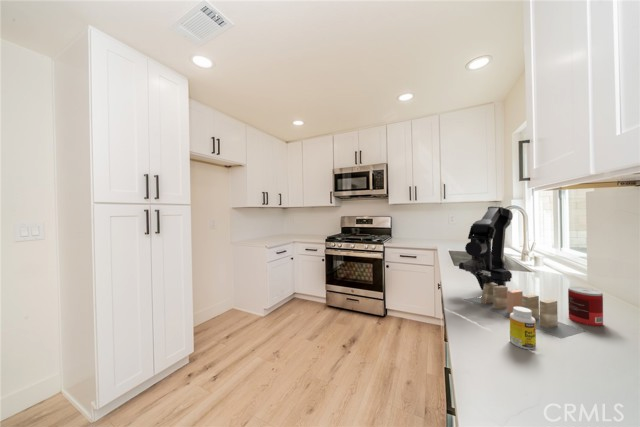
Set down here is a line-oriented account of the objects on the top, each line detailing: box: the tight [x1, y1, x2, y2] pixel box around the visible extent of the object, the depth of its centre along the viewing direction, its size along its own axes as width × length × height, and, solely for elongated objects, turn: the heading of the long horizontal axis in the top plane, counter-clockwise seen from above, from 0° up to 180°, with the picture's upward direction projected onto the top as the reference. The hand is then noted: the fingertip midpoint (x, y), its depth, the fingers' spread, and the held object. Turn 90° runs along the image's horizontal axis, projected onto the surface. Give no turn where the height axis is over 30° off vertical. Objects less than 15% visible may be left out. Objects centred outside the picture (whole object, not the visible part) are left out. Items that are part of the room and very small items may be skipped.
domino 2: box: [493, 285, 509, 309], centre depth 89 cm, size 2×5×8 cm, turn 107°
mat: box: [463, 296, 586, 339], centre depth 84 cm, size 12×32×1 cm, turn 17°
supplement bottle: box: [509, 307, 537, 350], centre depth 65 cm, size 6×6×10 cm
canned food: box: [567, 286, 604, 327], centre depth 77 cm, size 8×8×11 cm
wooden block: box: [539, 298, 559, 328], centre depth 75 cm, size 2×5×8 cm, turn 107°
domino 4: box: [522, 293, 540, 320], centre depth 80 cm, size 2×5×8 cm, turn 107°
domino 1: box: [481, 282, 498, 304], centre depth 93 cm, size 2×5×8 cm, turn 107°
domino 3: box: [507, 289, 524, 314], centre depth 84 cm, size 2×5×8 cm, turn 107°
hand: (483, 290), depth 95 cm, fingers closed
